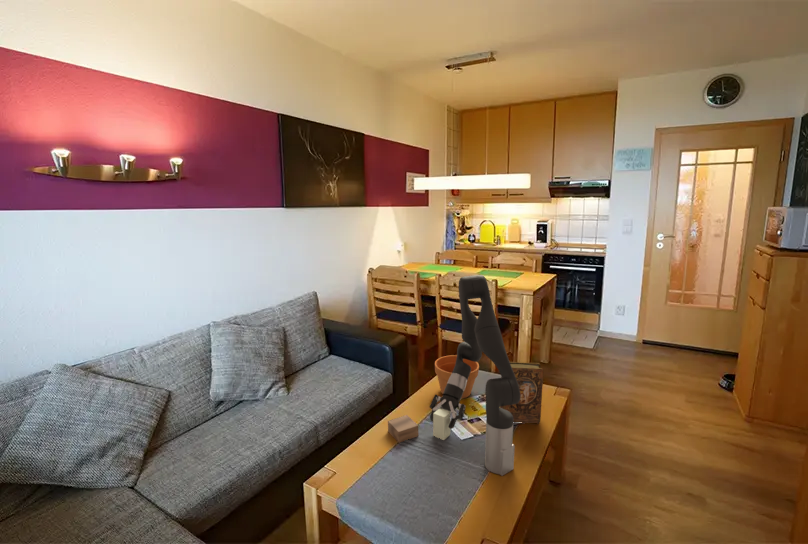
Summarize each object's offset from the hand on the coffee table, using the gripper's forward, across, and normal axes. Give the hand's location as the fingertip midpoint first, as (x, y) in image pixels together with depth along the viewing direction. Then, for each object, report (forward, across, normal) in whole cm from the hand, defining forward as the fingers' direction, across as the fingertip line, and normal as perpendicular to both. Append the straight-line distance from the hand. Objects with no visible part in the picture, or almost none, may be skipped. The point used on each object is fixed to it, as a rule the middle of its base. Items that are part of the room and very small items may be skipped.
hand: (440, 424), depth 163 cm
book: (-17, +21, +25) cm, 37 cm away
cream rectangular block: (+3, 0, +4) cm, 5 cm away
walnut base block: (+9, -13, -2) cm, 16 cm away
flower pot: (-21, -13, +29) cm, 38 cm away
